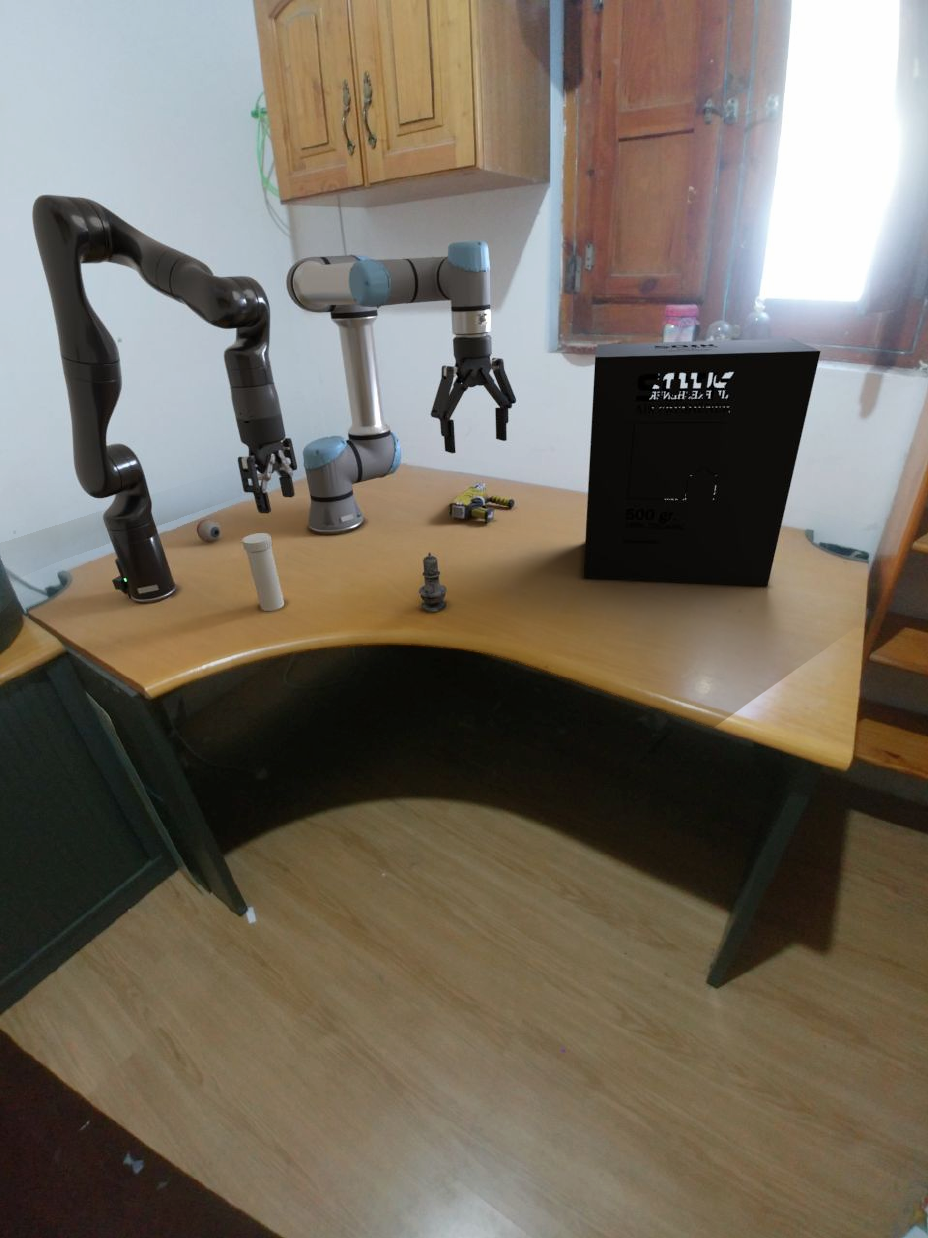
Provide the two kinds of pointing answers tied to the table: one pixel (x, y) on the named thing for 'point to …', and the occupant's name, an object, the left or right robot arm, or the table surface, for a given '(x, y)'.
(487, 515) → the toy gun
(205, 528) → the eyeball
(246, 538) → the lid
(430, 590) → the dark grey chess piece
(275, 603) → the jar
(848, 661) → the table surface
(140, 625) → the table surface
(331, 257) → the right robot arm
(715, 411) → the cardboard box
